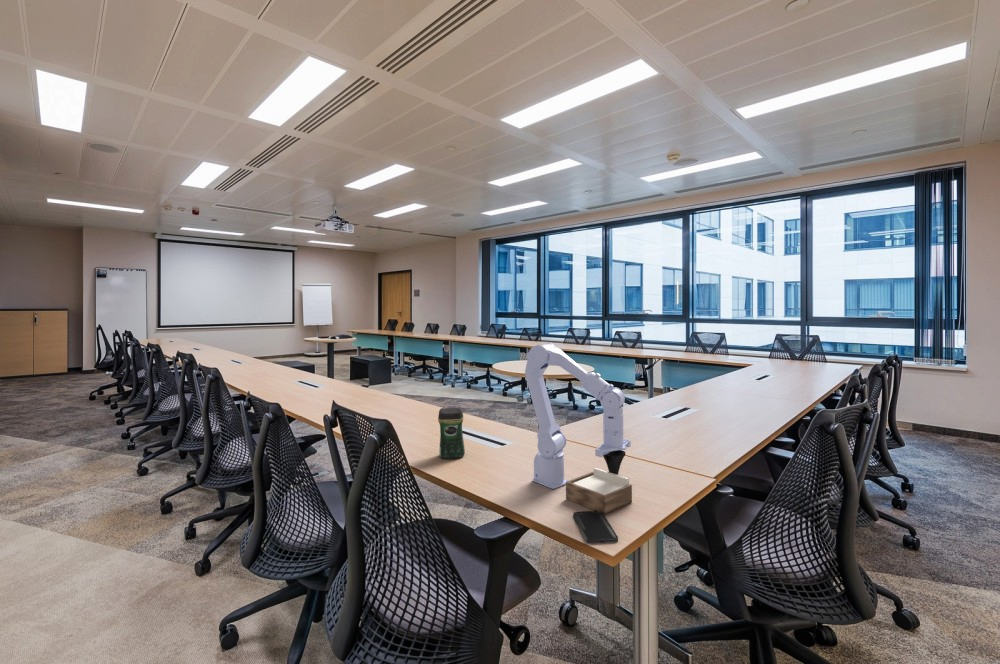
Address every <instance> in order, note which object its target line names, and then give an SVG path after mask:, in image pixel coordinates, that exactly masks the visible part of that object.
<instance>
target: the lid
mask: <svg viewBox="0 0 1000 664" xmlns="http://www.w3.org/2000/svg"><path fill="white" fill-rule="evenodd" d="M593 472H594V475H592V476H590V477H587V478H584V479H582V480H579V481H577V482H574V484H576V485H579V486H582V487H585V488H587V489H590V490H593V491H595V492H598V493H601V494H603V495H606V494H608V493H611V492H613V491H615V490H617V489H620V488H622V487H624V486H626V485H628V484H630V478H628V477H626V476H624V475H621V474H618V475H617V474H614V473H611V472H609V470H607V471H606V470H604V469H601V468H598V467H594V468H593Z"/></svg>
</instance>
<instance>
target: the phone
mask: <svg viewBox="0 0 1000 664" xmlns="http://www.w3.org/2000/svg"><path fill="white" fill-rule="evenodd" d="M572 514H573V515H572V516H573V519H574V521H575V523H576V525H577V527H578V530H579V531H580V534H581V535H582V538H583V539H584V541H585V543H587V544H589V545H590V544H592V545H595V544H596V545H597V544H610V543H611V544H612V543H615V544H616V543H618V542H619V536H618V535H617V533H616V531H614V529H613V527H612V526H611V524H610V522H609V521H608V519H607V518H606V515H604V514H603V513H602V512H601V511H594V510H586V511H585V510H584V511H583V510H582V511H575V512H573V513H572Z"/></svg>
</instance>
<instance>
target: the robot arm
mask: <svg viewBox="0 0 1000 664" xmlns="http://www.w3.org/2000/svg"><path fill="white" fill-rule="evenodd" d="M526 358H527V360H526V366H525V369H524V370H525V371H524V374H525V379H526V382H527V386H528V389H529V390H528V391H529V394H530V398H531V401H532V404H533V405H532V406H533V409H534V412H535V415H536V416H535V417H536V420H537V423H538V431H537V434H536V435H537V451H538V452H537V453H536V454H535V455H534V458H533V478H532V479H531V480H532V481H533V482H535V483H538V484H539V485H542V486H544V487H547V488H549V489H553V490H554V489H557V488H560V487H561V486H566V482H567V481H569V480H568V479H566V478H565V462H564V461H565V456H564V455H565V452H564V448H565V447H566V446H567V437H566V436H565V434H564V433H563V432H562V429H561V426H560V425H559V424H558V423H557V422H556V419H555V415H554V412H553V409H552V405H551V401H550V398H549V397H550V396H549V394H548V389H547V387H546V386H547V385H546V383H545V379H544V373H545V371H546V370H547V369H548V367H549V366H555V367H560V368H562V370H564V371H566V372H567V373H569V374H570V375H571V376H573V377H575V379H577V380H579V381H580V384H581V385H580V386H581V388H582V389H584V390H585V392H588V393H589V394H590V395H591V396H593V397H594V398H595V399H596V400H597V401H599V402H600V405H601V407H602V409H603V414H602V416H603V417H602V419H603V423H602V424H603V426H602V427H603V430H602V431H603V439H602V440H603V443H602V444H601V445H600V446H598V447H597V448H595V449H594V452H595V457H598V458H602V457H603V459H604V461H605V463H606V466H607V469H608V470H607V471H608V472H611V473H614V474H617V475H619V472H620V468H621V465H622V462H623V460H624V458H625V456H626V450H627V448H630V447H631V440H630V439H626V438H624V410H623V409H624V408H623V407H624V406H623V405H624V403H625V401H626V396H625V393H624V391H622V390H621V388H619V387H614V386H615V385H613V384H612V383H608V382H607V381H606V380H604V379H603V378H602V377H601V376H602V375H601V374H600V373H599V372H597V373H595V371H591V372H587V370H585V369H584V368H582V366H580V365H579V364H578V363H577V362H576V361H574V360H573V359H572V357H570V356H569V355H567V354H566V353H565V352H564V351H563V350H562V349H561V348H560V347H557V346H556V345H555V344H553V343H551V342H547V343H544V344H540V345H539V344H536V345H534V346H532V347H531V349H529V351H528V352H527V354H526Z"/></svg>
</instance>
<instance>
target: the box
mask: <svg viewBox="0 0 1000 664" xmlns="http://www.w3.org/2000/svg"><path fill="white" fill-rule="evenodd" d="M592 475H594V471H590V472H588V473H585V474H582V475H580V476H577V477H576V478H572V479H570V480H569V481H567V482H566V484H565V500H567V501H570V502H571V503H572V502H573V503H575V504H578V505H580V506H582V507H585V508H587V509H590V510H591V511H601V512H602V513H603V514H604V516H608V515H609V514H611V513H613V512H615V511H617V510H619V509H621V508H623V507H625V506H627V505H629V504H631V503H633V492H632V491H633V484H630V483H629V484H628V485H626V486H624V487H622V488H620V489H617V490H615V491H613V492H611V493H608V494H606V495H603V494H601V493H598V492H595V491H593V490H590V489H587V488H585V487H582V486H579V485H576V484H574V482H577V481H579V480H582V479H584V478H587V477H590V476H592Z"/></svg>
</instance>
